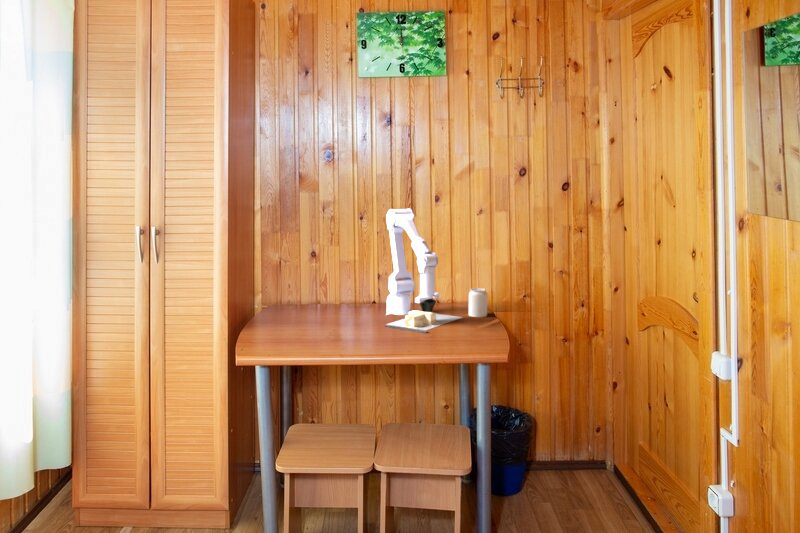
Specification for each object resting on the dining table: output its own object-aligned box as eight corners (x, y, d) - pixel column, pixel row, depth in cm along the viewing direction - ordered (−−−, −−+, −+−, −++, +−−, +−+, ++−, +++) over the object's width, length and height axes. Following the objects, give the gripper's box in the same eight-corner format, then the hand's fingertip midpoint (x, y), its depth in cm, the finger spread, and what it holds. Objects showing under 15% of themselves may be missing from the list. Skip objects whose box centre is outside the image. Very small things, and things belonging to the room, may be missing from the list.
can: (474, 315, 275) (475, 286, 274) (490, 317, 271) (490, 288, 269) (464, 318, 269) (465, 289, 268) (480, 320, 265) (481, 291, 263)
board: (385, 327, 253) (385, 324, 253) (424, 314, 276) (424, 312, 276) (425, 333, 243) (425, 330, 243) (462, 320, 266) (462, 317, 266)
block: (398, 325, 251) (398, 314, 251) (414, 320, 260) (414, 310, 260) (420, 328, 246) (420, 318, 245) (436, 323, 255) (436, 313, 254)
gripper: (426, 287, 249) (426, 323, 250) (445, 282, 260) (445, 316, 262) (410, 285, 253) (410, 320, 254) (430, 281, 264) (430, 314, 266)
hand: (427, 318), depth 259 cm, fingers closed
